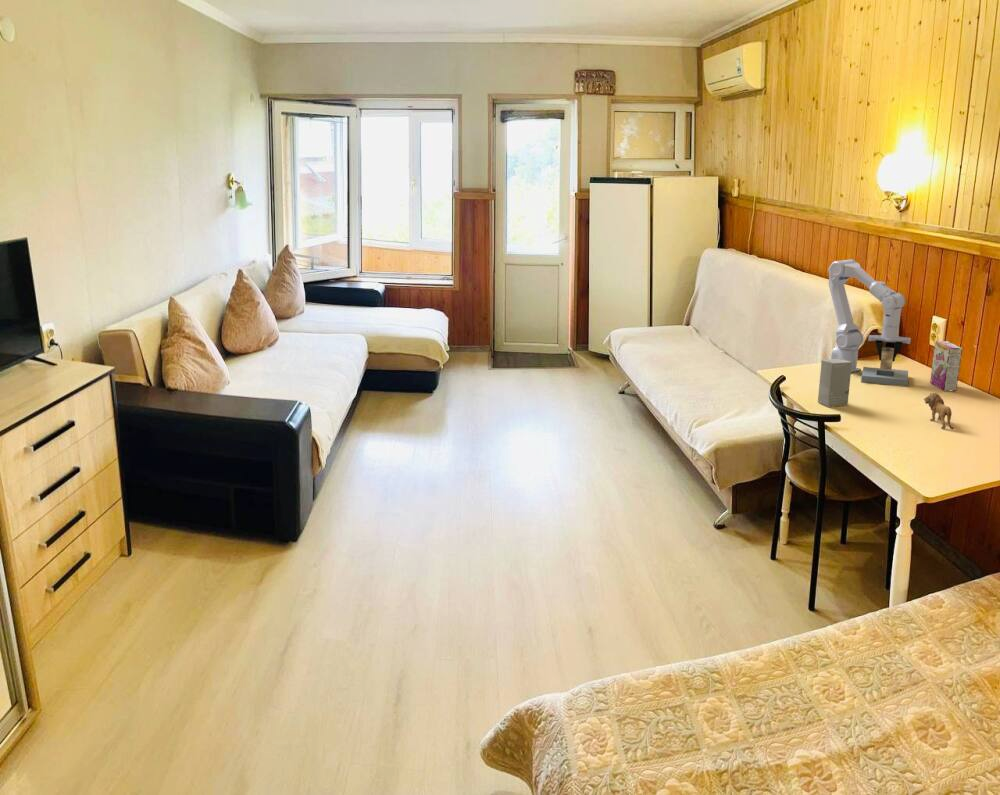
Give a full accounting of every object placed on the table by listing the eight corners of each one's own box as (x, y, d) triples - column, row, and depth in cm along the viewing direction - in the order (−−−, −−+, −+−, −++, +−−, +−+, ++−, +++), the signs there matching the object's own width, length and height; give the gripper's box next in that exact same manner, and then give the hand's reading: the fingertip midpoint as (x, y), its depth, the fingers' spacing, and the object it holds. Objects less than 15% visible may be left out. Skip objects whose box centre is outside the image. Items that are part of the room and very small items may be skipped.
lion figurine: (919, 416, 278) (922, 391, 276) (934, 416, 279) (937, 390, 276) (945, 431, 264) (949, 404, 262) (961, 430, 265) (965, 403, 262)
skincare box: (828, 407, 290) (832, 363, 285) (815, 401, 296) (820, 358, 291) (849, 405, 292) (854, 361, 287) (836, 399, 298) (840, 356, 294)
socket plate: (861, 382, 319) (861, 375, 318) (862, 372, 331) (863, 366, 330) (907, 386, 312) (908, 379, 311) (907, 376, 324) (908, 370, 323)
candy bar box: (928, 383, 316) (934, 340, 311) (942, 382, 315) (948, 340, 311) (943, 391, 305) (949, 348, 300) (957, 391, 305) (963, 347, 300)
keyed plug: (879, 368, 318) (882, 350, 316) (880, 364, 323) (882, 346, 321) (891, 369, 316) (893, 351, 314) (891, 365, 321) (894, 347, 319)
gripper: (869, 326, 315) (865, 361, 319) (912, 329, 309) (907, 364, 313) (870, 322, 321) (866, 356, 325) (912, 325, 315) (907, 360, 319)
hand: (886, 360), depth 319 cm, fingers closed on keyed plug, 4 cm apart
